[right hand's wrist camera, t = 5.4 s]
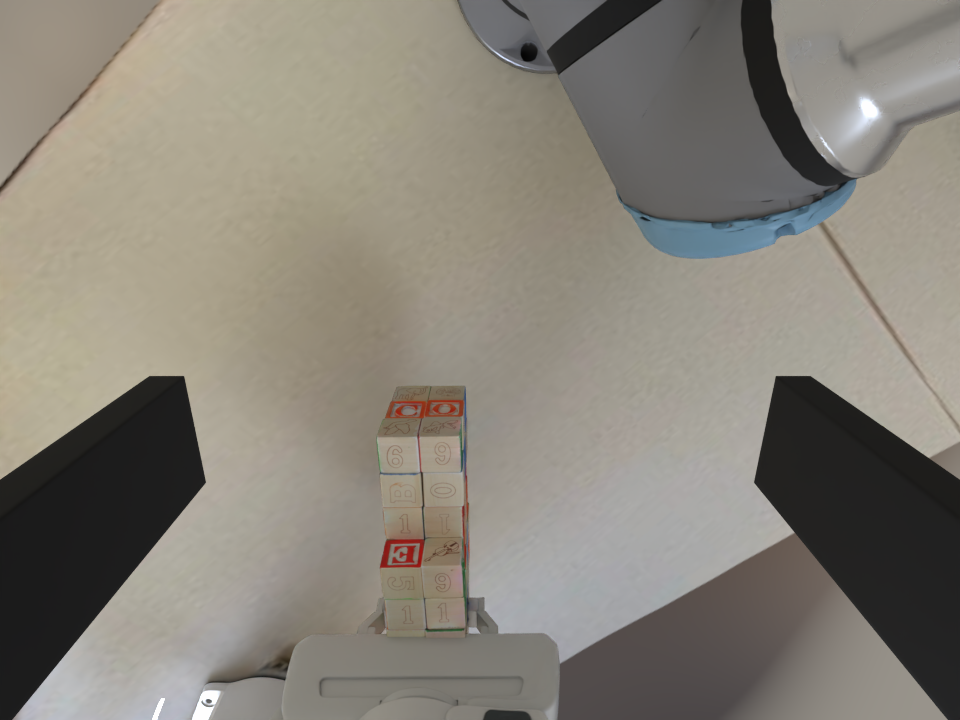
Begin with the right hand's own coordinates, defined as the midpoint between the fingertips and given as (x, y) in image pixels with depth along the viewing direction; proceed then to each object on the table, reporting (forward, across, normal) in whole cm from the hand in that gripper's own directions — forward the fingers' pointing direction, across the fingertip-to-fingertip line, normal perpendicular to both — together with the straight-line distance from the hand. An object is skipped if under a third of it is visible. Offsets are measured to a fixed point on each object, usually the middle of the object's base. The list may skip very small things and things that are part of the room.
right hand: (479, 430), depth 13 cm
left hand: (+26, -4, -31) cm, 41 cm away
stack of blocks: (+33, -4, -24) cm, 41 cm away
